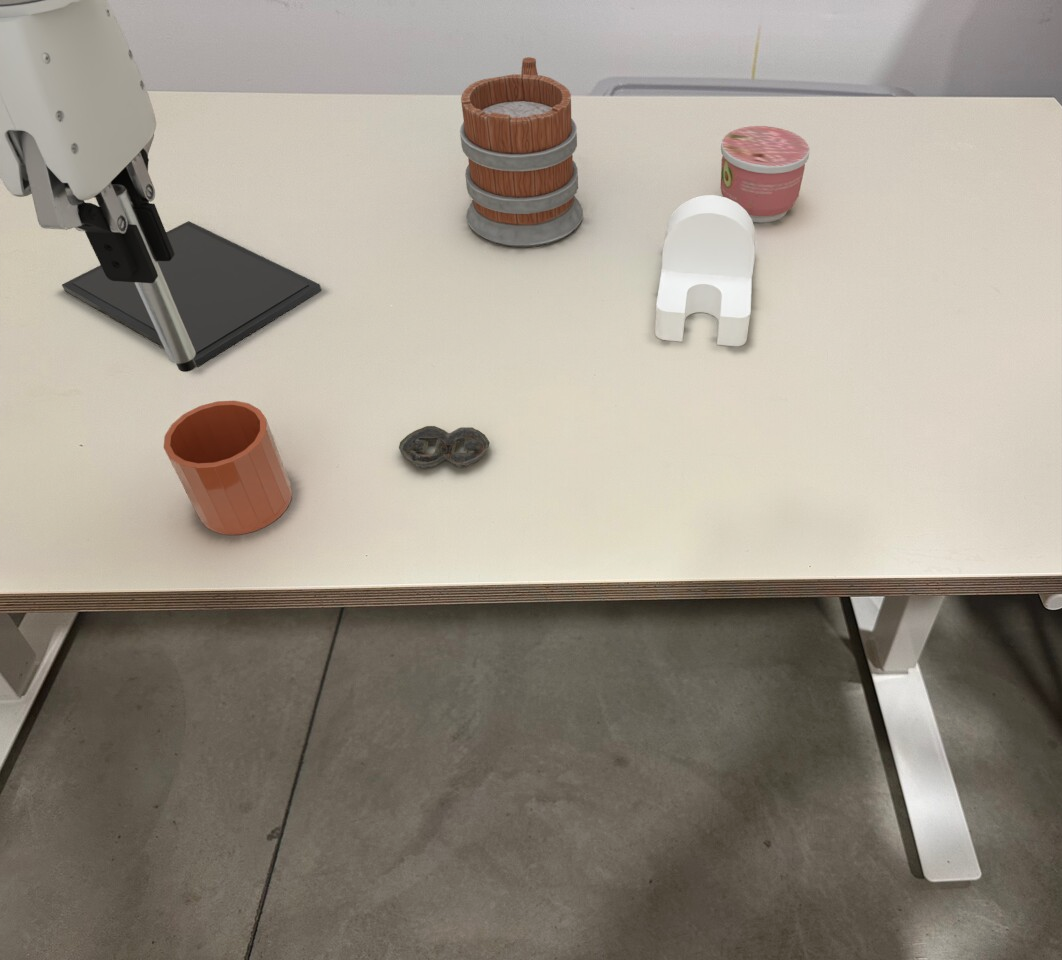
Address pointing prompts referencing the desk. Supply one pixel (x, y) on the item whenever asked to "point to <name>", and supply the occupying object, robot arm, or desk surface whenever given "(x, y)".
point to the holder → (229, 466)
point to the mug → (520, 158)
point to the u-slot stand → (707, 269)
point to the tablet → (203, 291)
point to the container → (763, 170)
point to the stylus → (160, 299)
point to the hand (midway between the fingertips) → (141, 267)
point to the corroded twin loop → (444, 446)
